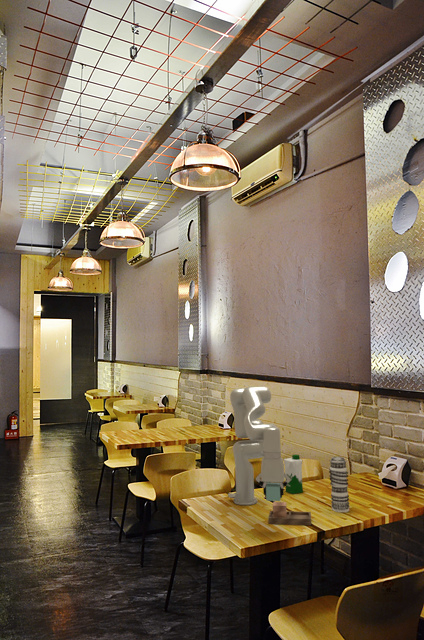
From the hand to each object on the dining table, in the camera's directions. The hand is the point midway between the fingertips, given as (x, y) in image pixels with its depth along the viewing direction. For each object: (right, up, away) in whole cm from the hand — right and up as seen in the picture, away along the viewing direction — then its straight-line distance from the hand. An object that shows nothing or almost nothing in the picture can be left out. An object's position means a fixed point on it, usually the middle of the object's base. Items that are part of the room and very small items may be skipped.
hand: (273, 496), depth 207 cm
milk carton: (+19, -19, +57) cm, 63 cm away
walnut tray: (+9, -15, +10) cm, 20 cm away
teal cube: (0, -1, 0) cm, 1 cm away
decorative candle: (+36, -16, +24) cm, 46 cm away
